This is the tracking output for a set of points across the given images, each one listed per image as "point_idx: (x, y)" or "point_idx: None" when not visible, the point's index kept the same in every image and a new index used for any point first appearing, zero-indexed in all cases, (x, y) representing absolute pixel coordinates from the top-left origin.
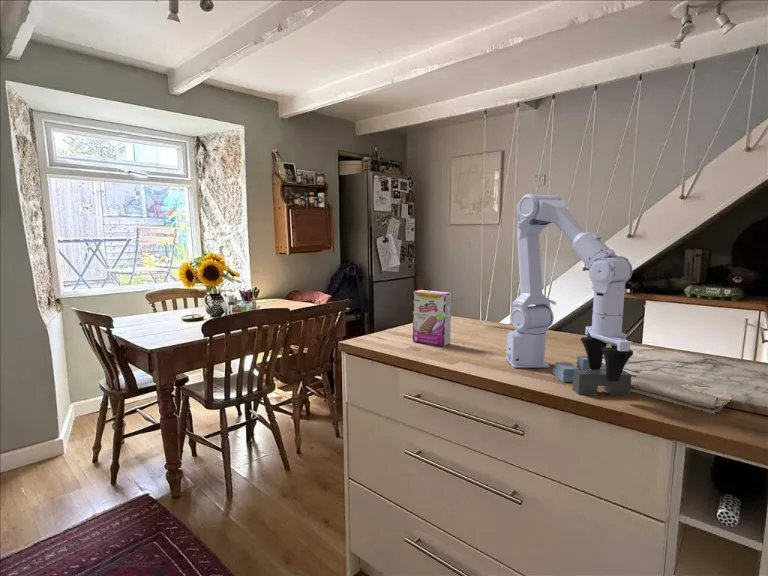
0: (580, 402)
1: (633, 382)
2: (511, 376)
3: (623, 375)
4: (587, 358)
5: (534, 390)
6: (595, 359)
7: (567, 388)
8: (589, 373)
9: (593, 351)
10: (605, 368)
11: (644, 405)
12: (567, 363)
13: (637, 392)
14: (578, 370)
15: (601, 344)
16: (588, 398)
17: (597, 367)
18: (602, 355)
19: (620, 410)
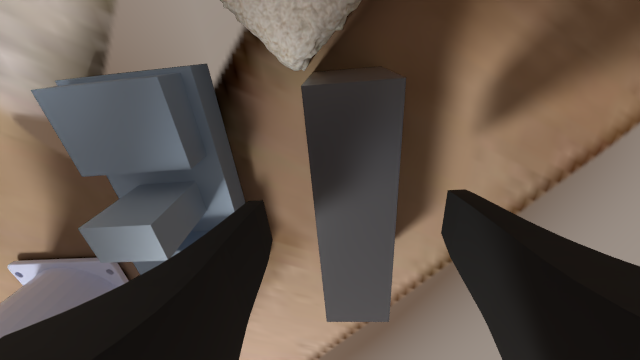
0: (442, 268)
1: (323, 15)
2: (243, 352)
3: (400, 133)
4: (135, 234)
5: (346, 335)
6: (249, 265)
7: (320, 264)
8: (375, 287)
9: (229, 328)
10: (160, 121)
11: (511, 57)
12: (148, 264)
13: (355, 7)
14: (332, 309)
15: (175, 356)
16: (411, 238)
17: (264, 220)
18: (222, 249)
19: (532, 183)
